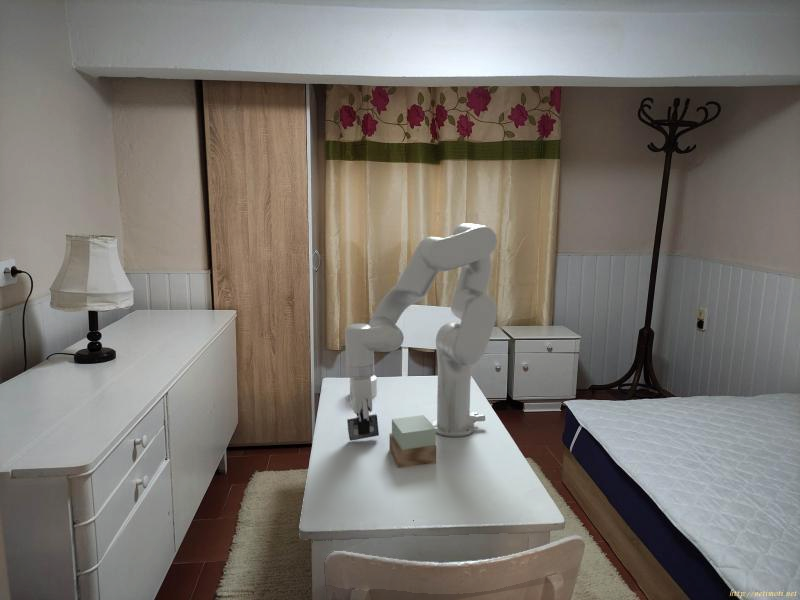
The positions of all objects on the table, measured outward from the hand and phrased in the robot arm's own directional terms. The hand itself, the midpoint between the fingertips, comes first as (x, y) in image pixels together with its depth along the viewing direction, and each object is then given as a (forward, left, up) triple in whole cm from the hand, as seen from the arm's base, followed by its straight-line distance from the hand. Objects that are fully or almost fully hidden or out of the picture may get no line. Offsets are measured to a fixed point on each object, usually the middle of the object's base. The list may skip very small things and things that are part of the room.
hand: (363, 431), depth 151 cm
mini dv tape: (0, 0, -2) cm, 2 cm away
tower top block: (-11, +12, +2) cm, 17 cm away
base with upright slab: (-6, -35, -3) cm, 36 cm away
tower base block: (-11, +12, -3) cm, 17 cm away
